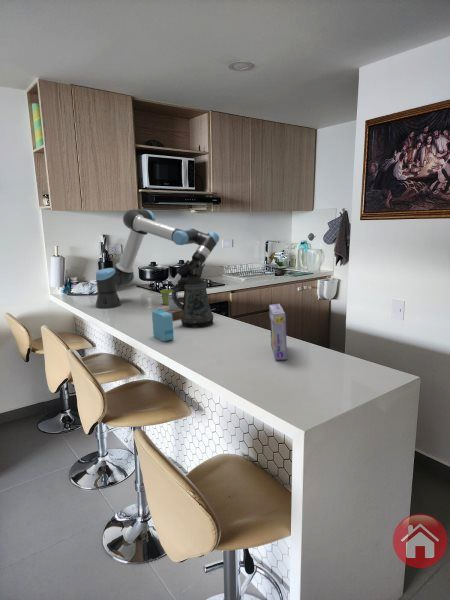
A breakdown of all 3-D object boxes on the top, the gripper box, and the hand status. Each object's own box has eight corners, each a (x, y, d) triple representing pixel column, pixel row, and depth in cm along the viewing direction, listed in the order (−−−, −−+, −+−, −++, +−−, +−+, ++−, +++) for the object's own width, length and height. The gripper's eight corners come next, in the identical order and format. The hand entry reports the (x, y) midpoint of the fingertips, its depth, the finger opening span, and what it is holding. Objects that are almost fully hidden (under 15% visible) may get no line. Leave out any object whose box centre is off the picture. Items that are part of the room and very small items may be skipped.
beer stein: (220, 323, 198) (218, 274, 193) (192, 331, 184) (189, 278, 179) (198, 318, 209) (195, 271, 204) (169, 326, 195) (166, 276, 190)
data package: (174, 340, 171) (172, 313, 169) (164, 342, 168) (162, 315, 166) (162, 334, 181) (160, 309, 178) (153, 336, 178) (151, 310, 176)
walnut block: (158, 318, 213) (157, 309, 212) (174, 314, 222) (174, 305, 221) (173, 321, 205) (172, 312, 204) (189, 317, 214) (189, 308, 213)
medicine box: (170, 307, 216) (169, 292, 214) (178, 307, 216) (177, 292, 215) (168, 310, 208) (167, 294, 207) (177, 310, 209) (176, 294, 207)
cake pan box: (269, 344, 161) (269, 302, 157) (281, 344, 161) (281, 302, 157) (273, 361, 142) (273, 313, 138) (287, 361, 142) (287, 313, 138)
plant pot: (177, 302, 253) (176, 289, 251) (173, 305, 243) (173, 291, 242) (163, 302, 253) (162, 289, 252) (159, 305, 244) (158, 292, 243)
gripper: (219, 260, 212) (198, 292, 206) (191, 258, 231) (171, 287, 224) (211, 251, 208) (190, 283, 201) (183, 250, 226) (163, 279, 219)
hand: (180, 285), depth 212 cm, fingers open, 13 cm apart
